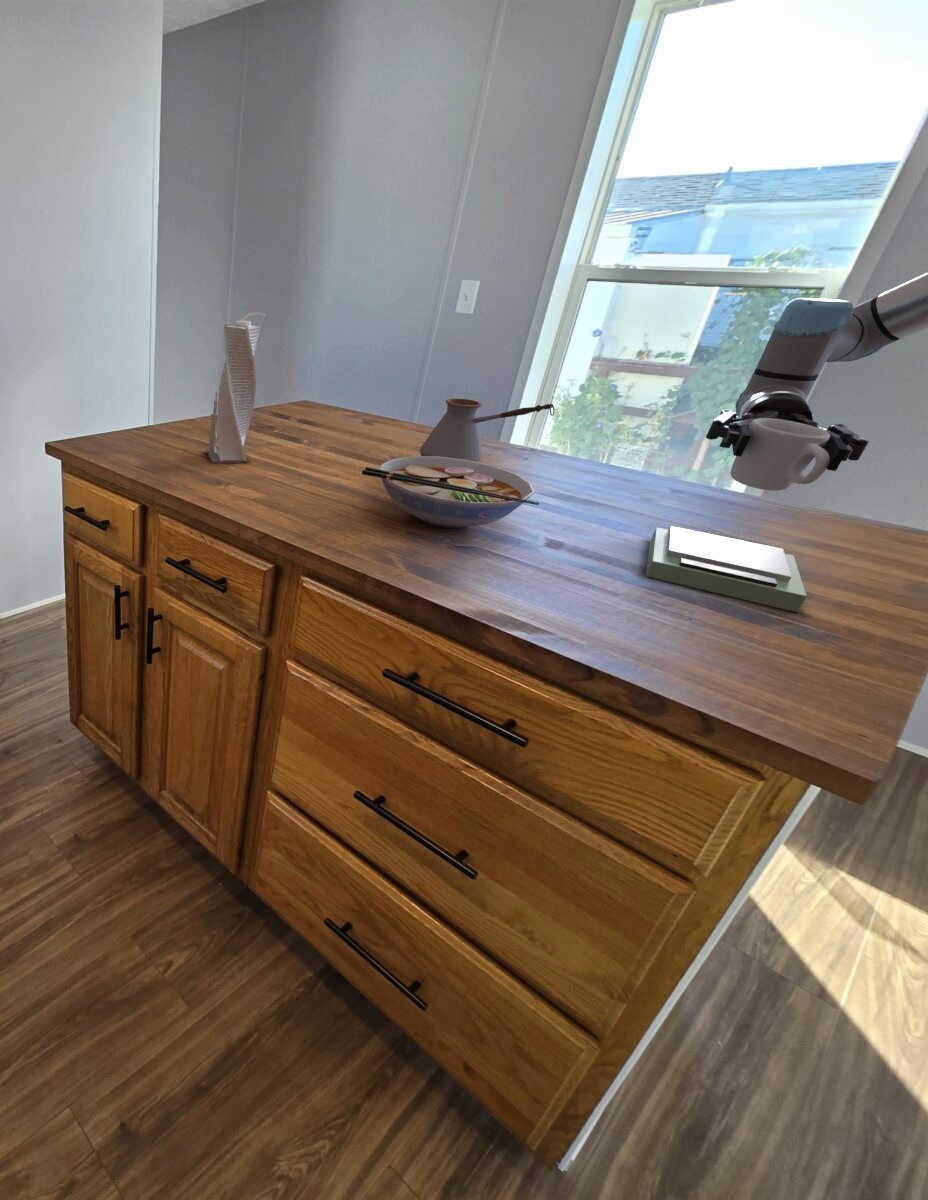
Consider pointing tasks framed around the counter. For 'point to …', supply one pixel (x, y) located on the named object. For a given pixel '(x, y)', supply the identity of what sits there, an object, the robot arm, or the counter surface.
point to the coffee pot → (464, 430)
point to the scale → (726, 567)
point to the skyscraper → (235, 392)
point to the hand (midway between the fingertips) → (788, 452)
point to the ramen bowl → (452, 490)
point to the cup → (780, 454)
